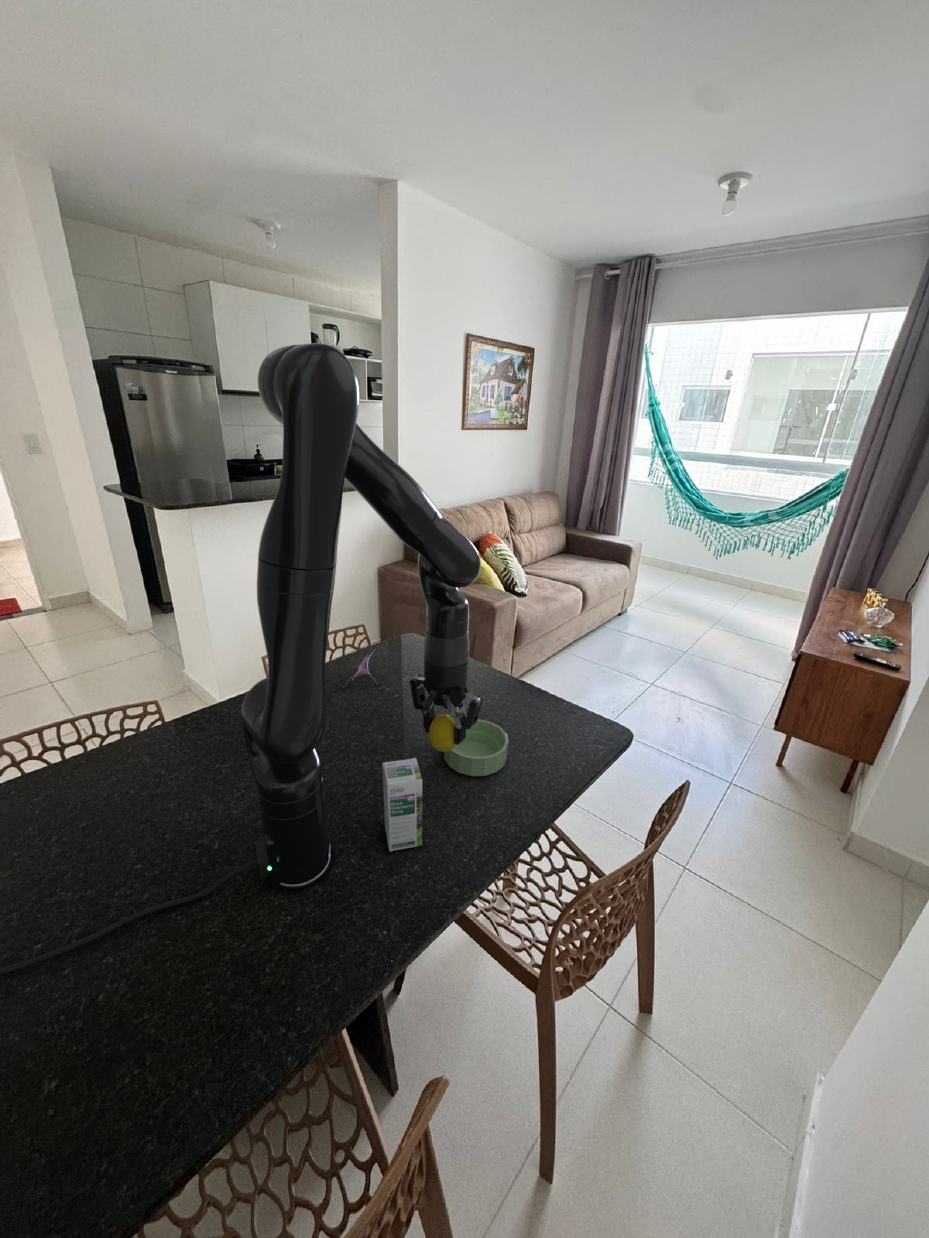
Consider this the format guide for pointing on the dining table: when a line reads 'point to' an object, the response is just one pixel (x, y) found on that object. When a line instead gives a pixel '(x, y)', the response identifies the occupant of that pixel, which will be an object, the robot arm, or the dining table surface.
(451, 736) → the lemon
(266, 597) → the robot arm
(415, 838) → the syrup box
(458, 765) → the bowl
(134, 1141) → the dining table surface
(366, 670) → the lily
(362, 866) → the dining table surface
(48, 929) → the dining table surface
